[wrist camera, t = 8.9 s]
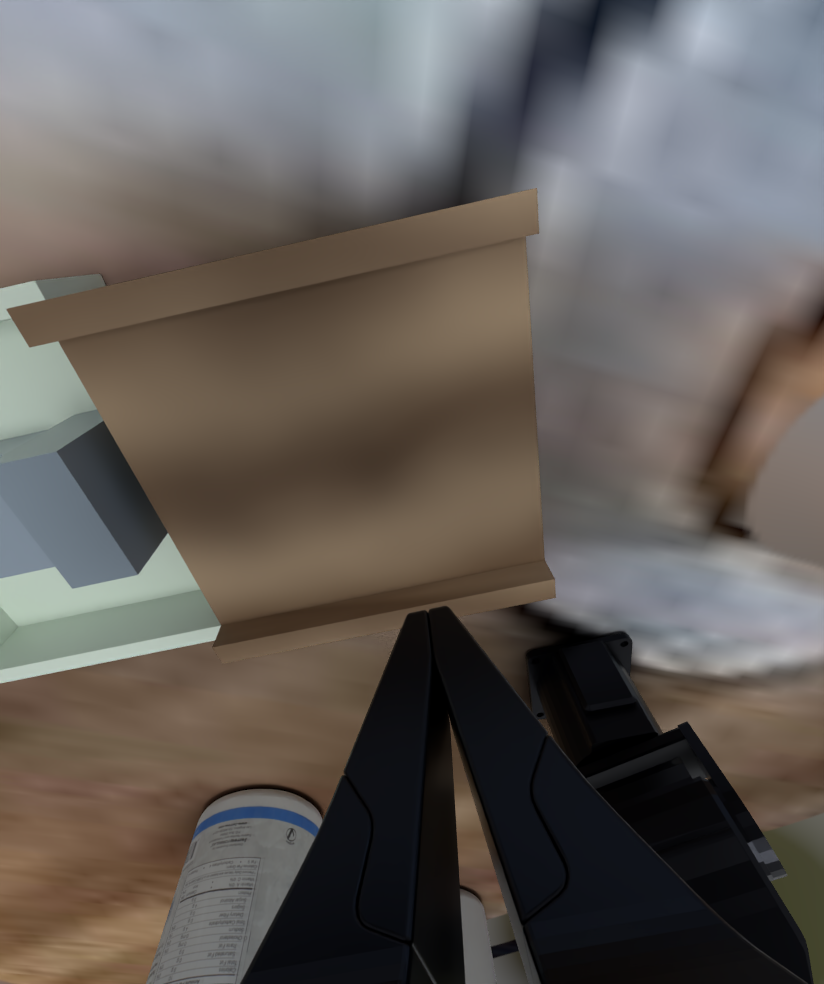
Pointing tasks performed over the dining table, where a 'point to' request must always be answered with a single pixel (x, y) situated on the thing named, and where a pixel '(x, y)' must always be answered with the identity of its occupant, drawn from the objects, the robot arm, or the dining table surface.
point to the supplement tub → (233, 885)
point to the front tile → (81, 501)
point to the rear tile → (18, 531)
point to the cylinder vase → (476, 941)
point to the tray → (45, 593)
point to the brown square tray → (331, 421)
